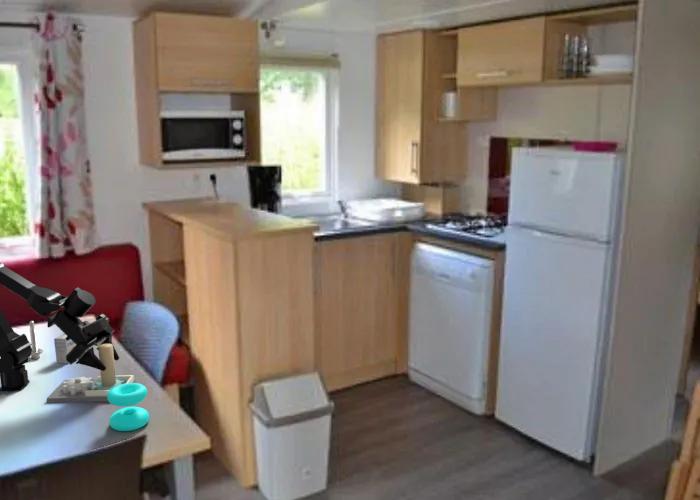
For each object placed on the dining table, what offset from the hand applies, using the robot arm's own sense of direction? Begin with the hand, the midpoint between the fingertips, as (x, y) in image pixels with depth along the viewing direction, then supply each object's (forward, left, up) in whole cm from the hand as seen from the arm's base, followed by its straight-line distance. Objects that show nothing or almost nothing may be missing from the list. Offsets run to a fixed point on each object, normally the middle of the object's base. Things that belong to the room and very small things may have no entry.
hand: (111, 364), depth 192 cm
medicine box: (-23, +27, -9) cm, 37 cm away
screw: (-35, +29, -9) cm, 47 cm away
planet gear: (-1, 0, -7) cm, 7 cm away
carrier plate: (-6, 0, -9) cm, 11 cm away
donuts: (+11, -21, -9) cm, 25 cm away
